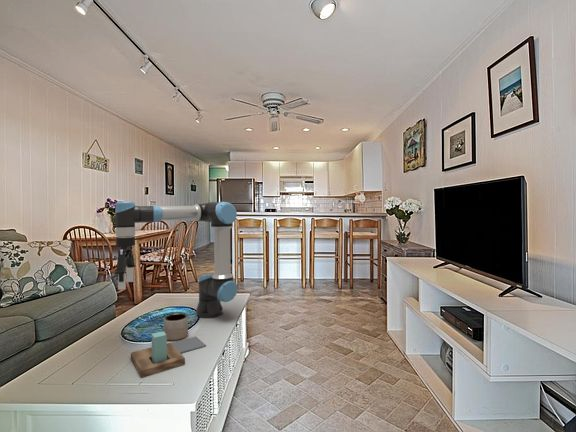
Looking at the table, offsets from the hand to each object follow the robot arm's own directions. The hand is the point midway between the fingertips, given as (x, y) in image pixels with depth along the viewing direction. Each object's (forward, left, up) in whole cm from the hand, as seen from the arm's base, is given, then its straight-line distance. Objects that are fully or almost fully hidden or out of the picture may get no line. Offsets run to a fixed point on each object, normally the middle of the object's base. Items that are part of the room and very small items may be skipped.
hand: (126, 285), depth 137 cm
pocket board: (-7, +20, -28) cm, 35 cm away
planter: (-21, 0, -28) cm, 35 cm away
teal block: (-7, +23, -28) cm, 37 cm away
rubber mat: (-22, +13, -28) cm, 38 cm away
